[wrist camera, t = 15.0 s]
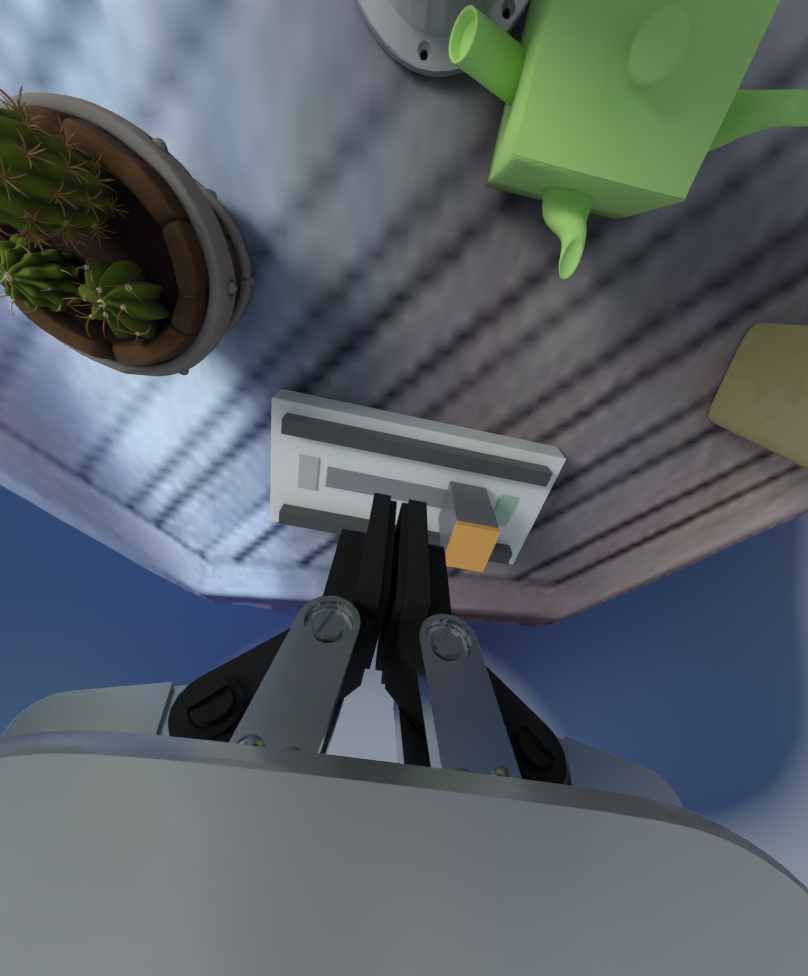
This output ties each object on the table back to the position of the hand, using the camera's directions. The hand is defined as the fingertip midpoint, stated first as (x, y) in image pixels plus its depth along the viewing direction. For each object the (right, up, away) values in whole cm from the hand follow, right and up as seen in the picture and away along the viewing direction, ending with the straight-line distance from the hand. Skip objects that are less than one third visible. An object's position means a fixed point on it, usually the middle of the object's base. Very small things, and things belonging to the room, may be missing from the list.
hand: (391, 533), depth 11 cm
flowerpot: (-18, +21, +19) cm, 34 cm away
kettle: (+13, +27, +15) cm, 34 cm away
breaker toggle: (+7, 0, +28) cm, 28 cm away
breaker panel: (+1, +3, +30) cm, 30 cm away
